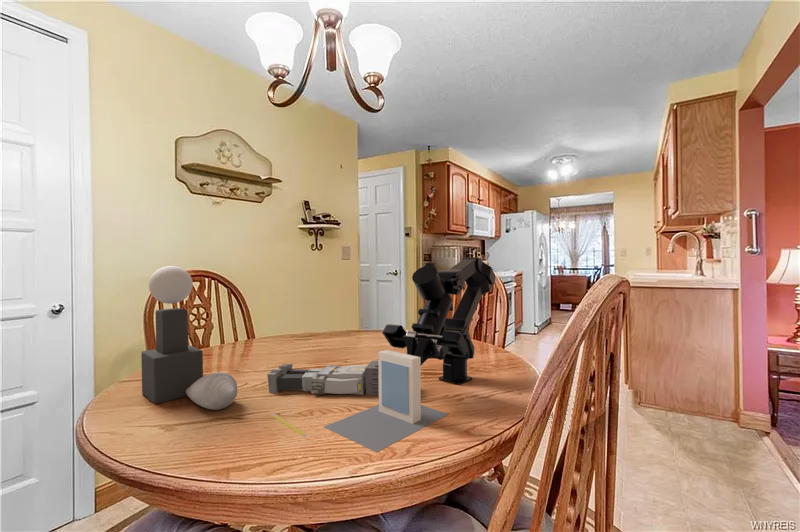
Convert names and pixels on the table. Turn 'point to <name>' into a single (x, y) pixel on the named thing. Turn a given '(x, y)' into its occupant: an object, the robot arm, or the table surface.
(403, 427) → the mat
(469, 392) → the table surface
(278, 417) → the pencil
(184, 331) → the sculpture
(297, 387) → the toy figure
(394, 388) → the cream rectangular block
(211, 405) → the seashell
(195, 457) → the table surface
